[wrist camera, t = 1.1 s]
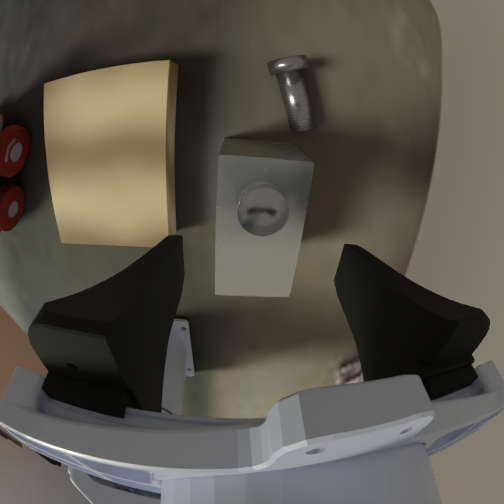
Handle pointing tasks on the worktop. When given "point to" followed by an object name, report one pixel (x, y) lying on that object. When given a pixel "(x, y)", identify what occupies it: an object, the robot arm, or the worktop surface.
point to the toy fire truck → (12, 171)
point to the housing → (259, 216)
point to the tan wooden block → (113, 154)
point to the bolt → (294, 91)
